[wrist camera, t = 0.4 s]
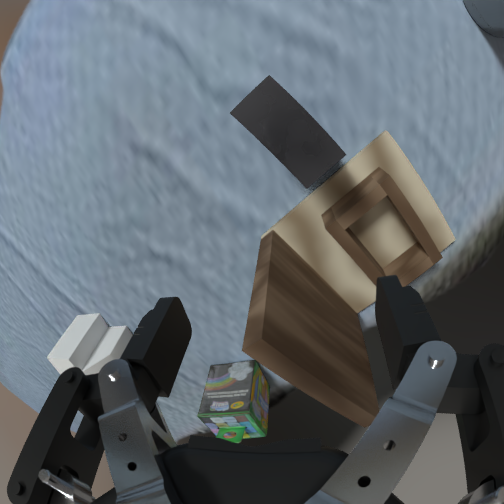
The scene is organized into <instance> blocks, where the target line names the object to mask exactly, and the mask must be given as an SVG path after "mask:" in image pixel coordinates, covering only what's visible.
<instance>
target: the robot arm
mask: <svg viewBox="0 0 504 504" xmlns="http://www.w3.org/2000/svg"><path fill="white" fill-rule="evenodd" d="M463 1H464V4H465V6H466V8H467V10H468V12H469V13H470V15H471V16H472V18H473V19H474V20H475V21H476V23H477V24H478V25H479V26H480V27H481V28H482V29H484V30H485V31H486V32H487V33H489V34H491V35H493V36H496V37H504V0H463ZM375 316H376V322H377V326H378V330H379V334H380V337H381V341H382V345H383V349H384V353H385V356H386V361H387V365H388V369H389V373H390V377H391V382H392V386H393V389H397V390H396V391H395V393H394V395H393V396H392V397H389V398H388V400H387V401H386V402H385V404H384V405H383V407H382V409H381V410H380V412H379V413H378V415H377V416H376V418H375V419H374V421H373V422H372V424H371V425H370V427H369V428H368V430H367V431H366V432H365V434H364V435H363V437H362V438H361V439H360V441H359V442H358V444H357V445H356V446H355V448H354V449H353V450H352V452H351V453H350V454H347V453H345V452H343V451H340V450H338V449H335V448H332V447H327V446H321V438H310V439H289V440H283V441H279V442H274V443H270V444H265V445H261V446H255V447H249V446H245V445H241V444H238V443H235V442H231V441H228V440H225V439H222V438H214V437H203V436H194V435H191V436H190V439H189V443H186V444H182V445H177V444H176V442H175V441H174V439H173V437H172V435H171V433H170V431H169V429H168V426H167V424H166V422H165V419H164V417H163V415H162V412H161V410H160V407H159V405H158V404H157V402H156V400H157V398H158V396H160V397H169V395H170V393H171V390H172V387H173V384H174V382H175V379H176V376H177V373H178V371H179V368H180V365H181V363H182V360H183V357H184V355H185V352H186V349H187V347H188V344H189V341H190V339H191V335H192V328H191V324H190V321H189V319H188V317H187V314H186V312H185V310H184V307H183V305H182V303H181V301H180V299H179V298H178V297H166V298H160V299H159V300H158V302H157V304H156V306H155V307H154V309H153V310H150V311H149V312H148V313H147V314H146V315H145V316H144V317H143V318H142V320H141V321H140V323H139V325H138V328H136V330H135V332H134V335H133V336H132V337H131V339H130V341H129V343H128V344H127V346H126V348H125V350H124V352H123V353H122V355H121V357H120V359H115V360H112V361H109V362H108V363H106V364H105V365H104V366H103V367H102V368H101V370H100V371H99V373H96V374H91V375H85V374H84V373H83V371H82V370H81V369H80V368H78V367H71V368H69V369H67V370H65V371H64V372H63V373H62V374H61V375H60V376H59V378H58V380H57V381H56V383H55V385H54V387H53V389H52V391H51V392H50V394H49V396H48V398H47V400H46V402H45V404H44V406H43V407H42V409H41V411H40V413H39V415H38V417H37V420H36V421H35V423H34V425H33V428H32V430H31V432H30V434H29V436H28V438H27V440H26V442H25V445H24V447H23V449H22V451H21V453H20V456H19V458H18V461H17V463H16V465H15V467H14V470H13V472H12V475H11V477H10V480H9V482H8V486H7V494H8V497H9V499H10V501H11V502H12V503H13V504H404V503H403V502H402V501H401V500H399V499H398V498H397V497H396V496H395V495H394V494H393V493H392V491H393V490H394V488H395V487H396V485H397V484H398V482H399V481H400V479H401V477H402V476H403V475H404V473H405V471H406V470H407V468H408V466H409V465H410V463H411V462H412V460H413V458H414V456H415V454H416V453H417V451H418V449H419V447H420V446H421V444H422V442H423V440H424V438H425V436H426V434H427V432H428V430H429V428H430V426H431V424H432V422H433V420H434V418H435V414H436V413H450V414H451V413H452V414H453V413H454V414H456V418H457V423H458V428H459V433H460V439H461V444H462V450H463V457H464V463H465V470H466V480H467V490H468V494H467V495H466V496H464V497H463V498H462V499H461V500H460V502H459V503H458V504H504V346H503V345H500V344H489V345H487V346H485V347H484V348H483V349H482V350H481V352H480V354H479V355H469V354H458V353H455V351H454V349H453V348H452V347H451V346H450V345H449V344H447V343H445V342H442V341H441V339H440V337H439V335H438V332H437V330H436V328H435V326H434V324H433V321H432V319H431V317H430V315H429V313H428V312H427V309H426V307H425V305H424V302H423V300H422V298H421V296H420V294H419V293H418V292H417V291H416V290H414V289H413V288H412V287H411V286H405V287H402V285H401V283H400V281H399V279H398V277H397V275H389V276H382V277H377V283H376V303H375ZM78 410H79V411H80V412H81V413H82V414H83V415H84V417H83V419H82V421H81V424H80V426H79V428H78V431H77V433H76V435H75V438H73V436H72V435H71V432H70V427H71V424H72V422H73V420H74V417H75V415H76V413H77V411H78ZM104 450H105V454H106V458H107V462H108V465H109V469H110V473H111V476H112V479H113V483H114V486H115V487H114V488H113V489H111V490H110V491H108V492H107V493H105V494H103V495H102V496H101V497H99V498H97V499H95V498H94V497H93V496H92V491H91V488H92V485H93V482H94V478H95V475H96V472H97V469H98V466H99V463H100V460H101V458H102V454H103V452H104Z"/></svg>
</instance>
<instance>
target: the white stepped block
mask: <svg viewBox="0 0 504 504" xmlns="http://www.w3.org/2000/svg"><path fill="white" fill-rule="evenodd" d="M132 336H133V335H132V333H131V332H130V330H129V329H128V327H127V326H116V327H108V326H107V324H106V322H105V321H104V319H103V318H102V316H101V315H100V313H99V314H88V315H77V317H76V318H75V319H74V321H73V322H72V323H71V325H70V326H69V327H68V329H67V330H66V331H65V333H64V334H63V335H62V337H61V338H60V340H59V341H58V342H57V344H56V345H55V347H54V348H53V349H52V351H51V352H50V354H49V355H48V357H47V358H48V360H49V361H50V362H51V363H52V365H53V366H54V367H55V368H56V369H57V371H58V372H59V373H60V374H62V373H63V372H64V371H65V370H67V369H69V368H71V367H78V368H80V369H81V370H82V371H83V373H84V374H85V375H91V374H96V373H99V371H100V370H101V368H102V367H103V366H104V365H105V364H106V363H108V362H109V361H112V360H115V359H120V357H121V355H122V353H123V352H124V350H125V348H126V346H127V344H128V343H129V341H130V339H131V337H132Z"/></svg>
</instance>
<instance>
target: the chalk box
mask: <svg viewBox="0 0 504 504" xmlns="http://www.w3.org/2000/svg"><path fill="white" fill-rule="evenodd" d="M269 391H270V386H269V385H268V383H267V381H266V379H265V377H264V375H263V373H262V371H261V369H260V367H259V366H258V364H257V362H256V360H252V361H244V362H237V363H229V364H220V365H211V366H210V370H209V374H208V378H207V382H206V386H205V390H204V393H203V397H202V401H201V405H200V409H199V412H198V415H197V416H198V417H199V419H200V420H201V421H202V422H203V423H204V424H205V425H206V426H207V427H208V428H209V429H210V430H211V431H212V432H213V433H214V434H215V435H216V438H222V439H225V440H228V441H231V442H235V443H240V442H241V441H242V439H246V438H256V437H265V436H266V435H267V422H268V407H269Z"/></svg>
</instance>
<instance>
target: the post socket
mask: <svg viewBox="0 0 504 504" xmlns="http://www.w3.org/2000/svg"><path fill="white" fill-rule="evenodd" d="M454 240H456V239H455V237H454V235H453V233H452V231H451V230H450V228H449V226H448V224H447V222H446V220H445V218H444V217H443V215H442V213H441V211H440V209H439V208H438V206H437V204H436V203H435V201H434V199H433V197H432V196H431V194H430V192H429V191H428V189H427V188H426V186H425V184H424V183H423V181H422V180H421V178H420V177H419V175H418V173H417V172H416V170H415V169H414V167H413V166H412V164H411V163H410V161H409V160H408V159H407V157H406V156H405V154H404V153H403V151H402V150H401V149H400V147H399V146H398V144H397V143H396V142H395V140H394V139H393V138H392V136H391V135H390V134H389V132H388V131H384V132H382V133H381V134H380V135H379V136H378V137H377V138H375V139H374V140H373V141H372V142H371V143H370V144H368V145H367V146H366V147H365V148H364V149H362V150H361V151H360V152H359V153H358V154H357V155H355V156H354V157H353V158H352V159H351V160H350V161H348V162H347V163H346V164H345V165H344V166H342V167H341V168H340V169H339V170H338V171H337V172H335V173H334V174H333V175H332V176H331V177H330V178H328V179H327V180H326V181H325V182H324V183H323V184H321V185H320V186H319V187H318V188H317V189H316V190H314V191H313V192H312V193H311V194H310V195H309V196H307V197H306V198H305V199H304V200H303V201H302V202H300V203H299V204H298V205H297V206H296V207H295V208H293V209H292V210H291V211H290V212H289V213H288V214H286V215H285V216H284V217H283V218H282V219H281V220H279V221H278V222H277V223H276V224H275V225H274V226H272V227H271V228H270V229H269V230H268V231H267V232H266V233H264V234H263V235H262V237H261V243H260V249H259V254H258V260H257V266H256V272H255V278H254V284H253V290H252V296H251V301H250V307H249V313H248V319H247V325H246V330H245V336H244V342H243V348H242V351H243V352H245V353H246V354H247V355H249V356H250V357H252V358H253V359H255V360H256V361H258V362H259V363H260V364H262V365H263V366H265V367H266V368H268V369H269V370H271V371H272V372H274V373H275V374H277V375H278V376H280V377H281V378H283V379H284V380H286V381H288V382H289V383H291V384H292V385H294V386H295V387H297V388H298V389H300V390H302V391H303V392H305V393H306V394H308V395H310V396H311V397H313V398H314V399H316V400H318V401H320V402H321V403H323V404H325V405H326V406H328V407H330V408H331V409H333V410H335V411H336V412H338V413H340V414H341V415H343V416H345V417H347V418H348V419H350V420H352V421H354V422H355V423H357V424H359V425H361V426H363V427H367V426H370V425H371V424H372V422H373V421H374V419H375V418H376V416H377V415H378V413H379V408H378V402H377V397H376V392H375V387H374V382H373V378H372V373H371V368H370V363H369V360H368V355H367V351H366V346H365V343H364V338H363V334H362V330H361V326H360V322H359V318H358V314H357V313H359V312H360V311H362V310H363V309H365V308H366V307H368V306H369V305H370V304H372V303H373V302H375V301H376V283H377V277H382V276H389V275H397V277H398V279H399V281H400V283H401V285H402V287H405V286H407V285H408V284H409V283H411V282H412V281H413V280H415V279H416V278H417V277H419V276H420V275H421V274H423V273H424V272H425V271H426V270H428V269H429V268H430V267H432V266H433V265H434V264H435V263H437V262H438V261H439V260H440V259H442V258H443V257H442V255H441V254H440V252H441V251H443V250H444V249H445V248H446V247H447V246H449V245H450V244H451V243H452V242H453V241H454Z"/></svg>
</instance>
